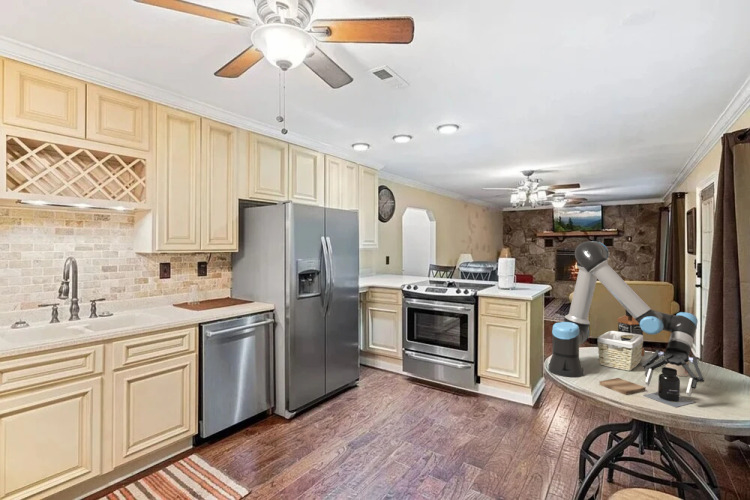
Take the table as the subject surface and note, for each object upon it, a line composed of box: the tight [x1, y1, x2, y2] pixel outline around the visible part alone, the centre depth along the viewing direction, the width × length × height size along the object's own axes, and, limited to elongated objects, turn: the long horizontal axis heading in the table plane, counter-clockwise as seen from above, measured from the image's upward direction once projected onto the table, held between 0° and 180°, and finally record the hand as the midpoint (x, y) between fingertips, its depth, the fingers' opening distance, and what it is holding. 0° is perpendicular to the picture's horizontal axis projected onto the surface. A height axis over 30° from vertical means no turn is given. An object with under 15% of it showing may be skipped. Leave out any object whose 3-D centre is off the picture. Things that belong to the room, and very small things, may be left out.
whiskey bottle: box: [617, 309, 645, 357], centre depth 210 cm, size 10×10×32 cm
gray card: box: [643, 391, 696, 408], centre depth 150 cm, size 12×12×1 cm
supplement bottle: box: [657, 366, 681, 402], centre depth 149 cm, size 7×7×12 cm
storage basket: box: [597, 330, 644, 372], centre depth 193 cm, size 24×16×15 cm
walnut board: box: [599, 377, 646, 396], centre depth 161 cm, size 12×12×2 cm
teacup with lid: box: [665, 361, 690, 377], centre depth 180 cm, size 12×9×12 cm
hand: (666, 389), depth 148 cm, fingers open, 13 cm apart
